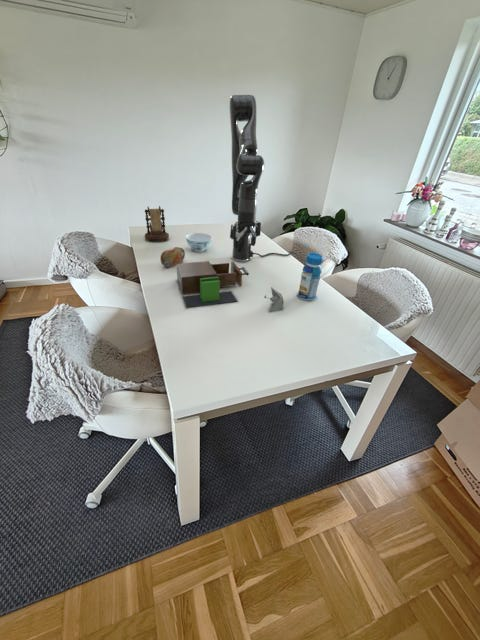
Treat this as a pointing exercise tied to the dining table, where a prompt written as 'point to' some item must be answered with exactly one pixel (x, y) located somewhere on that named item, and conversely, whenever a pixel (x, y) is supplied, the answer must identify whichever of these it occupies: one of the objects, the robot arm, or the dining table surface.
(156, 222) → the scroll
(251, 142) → the robot arm
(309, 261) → the beverage bottle
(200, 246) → the chinaware
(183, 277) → the cabinet
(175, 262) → the tin
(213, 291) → the green ridged box
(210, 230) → the dining table surface
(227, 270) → the drawer
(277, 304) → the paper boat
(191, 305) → the placemat
